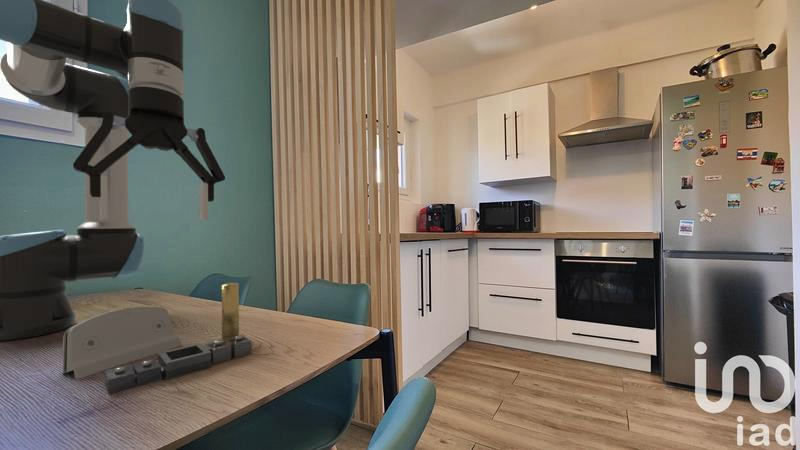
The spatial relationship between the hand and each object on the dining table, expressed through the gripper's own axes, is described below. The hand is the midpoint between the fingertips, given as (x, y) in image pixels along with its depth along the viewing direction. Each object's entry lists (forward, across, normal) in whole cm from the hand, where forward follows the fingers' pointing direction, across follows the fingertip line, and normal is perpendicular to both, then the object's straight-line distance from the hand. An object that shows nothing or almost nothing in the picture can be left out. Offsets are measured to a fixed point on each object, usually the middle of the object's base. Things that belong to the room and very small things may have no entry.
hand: (158, 219), depth 56 cm
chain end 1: (+25, 0, -2) cm, 25 cm away
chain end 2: (+25, +7, -2) cm, 26 cm away
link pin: (+25, +13, +6) cm, 29 cm away
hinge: (+26, -4, +12) cm, 28 cm away
